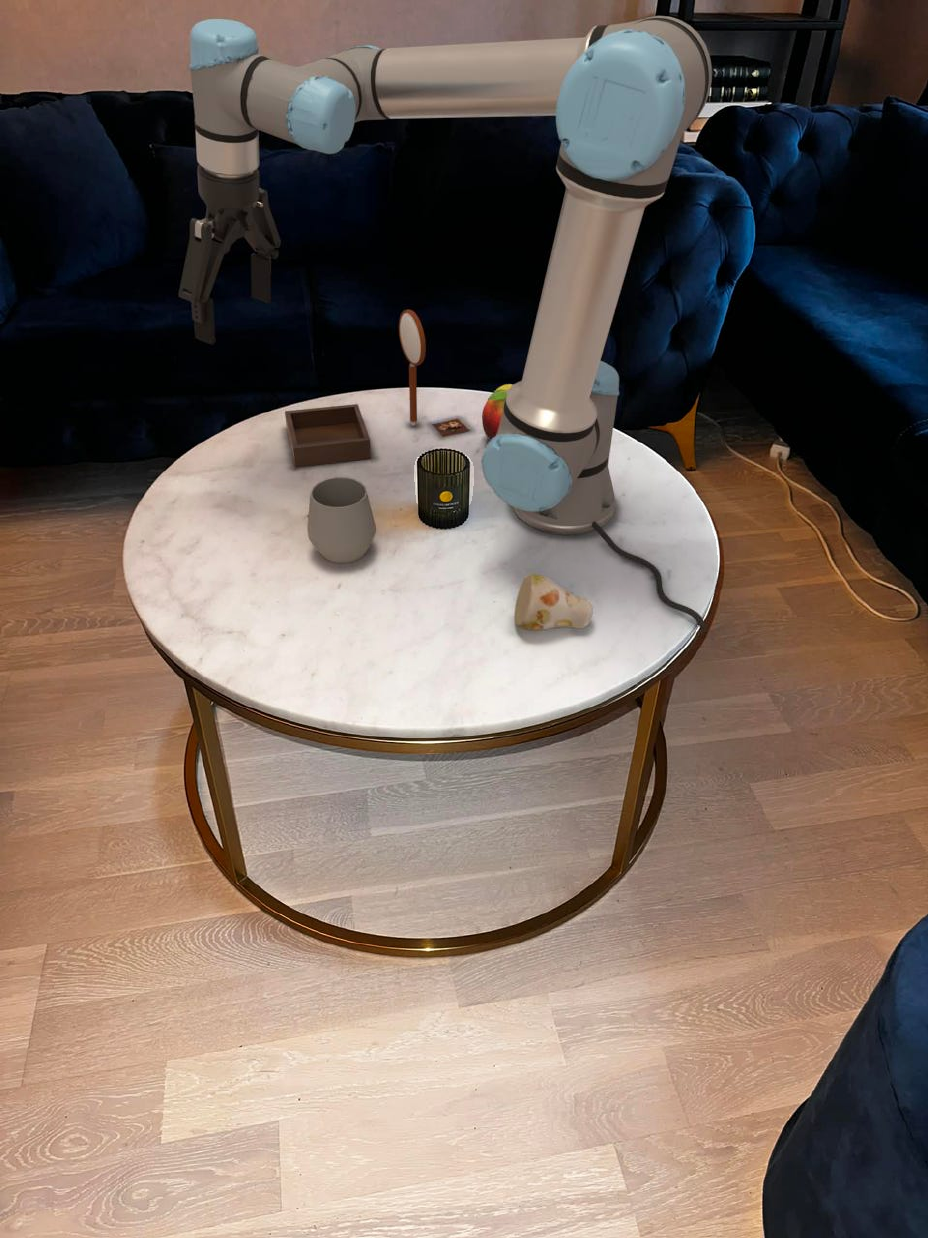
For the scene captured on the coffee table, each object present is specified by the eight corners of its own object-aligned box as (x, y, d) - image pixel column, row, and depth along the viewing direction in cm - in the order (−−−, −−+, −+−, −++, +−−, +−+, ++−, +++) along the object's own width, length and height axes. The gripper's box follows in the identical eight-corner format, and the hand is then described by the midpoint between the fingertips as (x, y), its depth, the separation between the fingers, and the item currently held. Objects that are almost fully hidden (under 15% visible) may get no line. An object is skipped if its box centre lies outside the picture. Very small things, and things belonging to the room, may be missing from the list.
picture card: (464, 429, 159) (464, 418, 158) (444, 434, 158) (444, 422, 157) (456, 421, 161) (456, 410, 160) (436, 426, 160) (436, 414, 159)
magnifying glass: (398, 415, 163) (395, 302, 150) (407, 413, 163) (405, 300, 150) (419, 438, 157) (418, 322, 144) (429, 436, 157) (428, 320, 144)
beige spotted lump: (599, 643, 119) (570, 599, 112) (529, 657, 123) (497, 616, 116) (599, 595, 124) (571, 550, 116) (531, 611, 128) (500, 568, 120)
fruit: (558, 449, 155) (563, 393, 148) (501, 465, 151) (504, 409, 144) (523, 420, 162) (527, 366, 155) (468, 435, 158) (470, 380, 151)
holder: (371, 458, 152) (370, 439, 149) (295, 467, 149) (293, 448, 147) (358, 422, 161) (357, 403, 158) (286, 429, 158) (284, 411, 156)
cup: (365, 527, 137) (362, 468, 131) (386, 563, 131) (383, 503, 124) (302, 540, 134) (295, 480, 128) (320, 578, 128) (313, 517, 121)
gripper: (258, 127, 125) (261, 275, 141) (138, 189, 109) (155, 349, 125) (307, 144, 124) (304, 292, 140) (192, 210, 108) (203, 369, 123)
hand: (234, 319), depth 132 cm, fingers open, 13 cm apart
